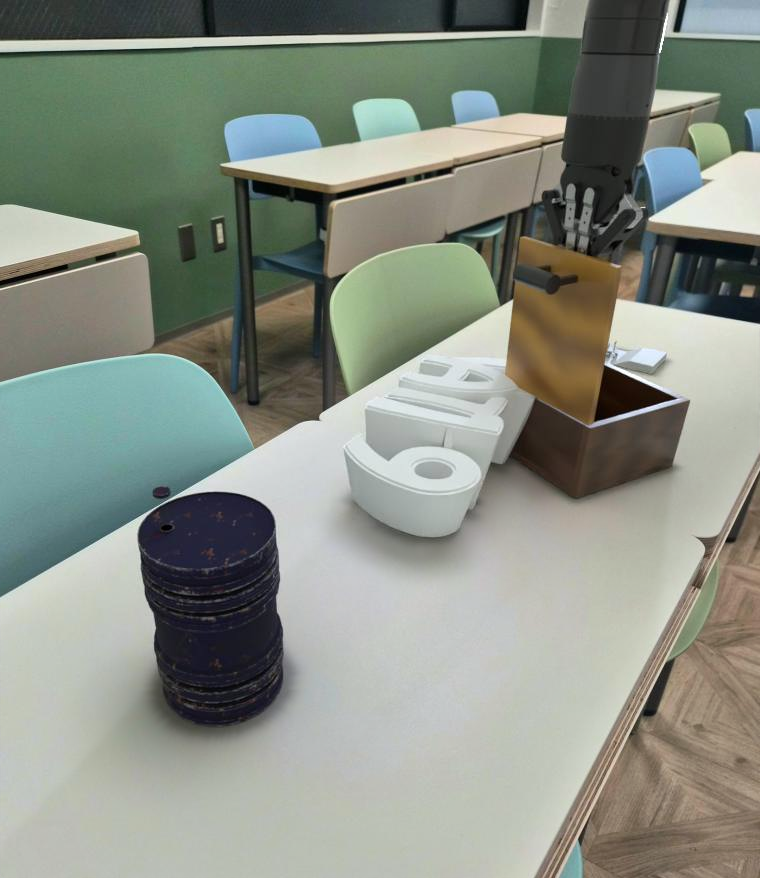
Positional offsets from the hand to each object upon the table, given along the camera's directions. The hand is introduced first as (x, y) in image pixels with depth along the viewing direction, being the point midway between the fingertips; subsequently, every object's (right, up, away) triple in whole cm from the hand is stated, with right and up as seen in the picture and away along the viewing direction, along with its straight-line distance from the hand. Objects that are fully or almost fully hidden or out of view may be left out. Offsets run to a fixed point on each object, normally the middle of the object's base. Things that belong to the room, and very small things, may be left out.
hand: (576, 290), depth 78 cm
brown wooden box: (+5, -17, +14) cm, 23 cm away
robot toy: (+21, 0, +43) cm, 48 cm away
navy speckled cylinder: (-34, -37, -19) cm, 54 cm away
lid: (-1, -4, +1) cm, 4 cm away
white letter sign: (-13, -19, +9) cm, 25 cm away
